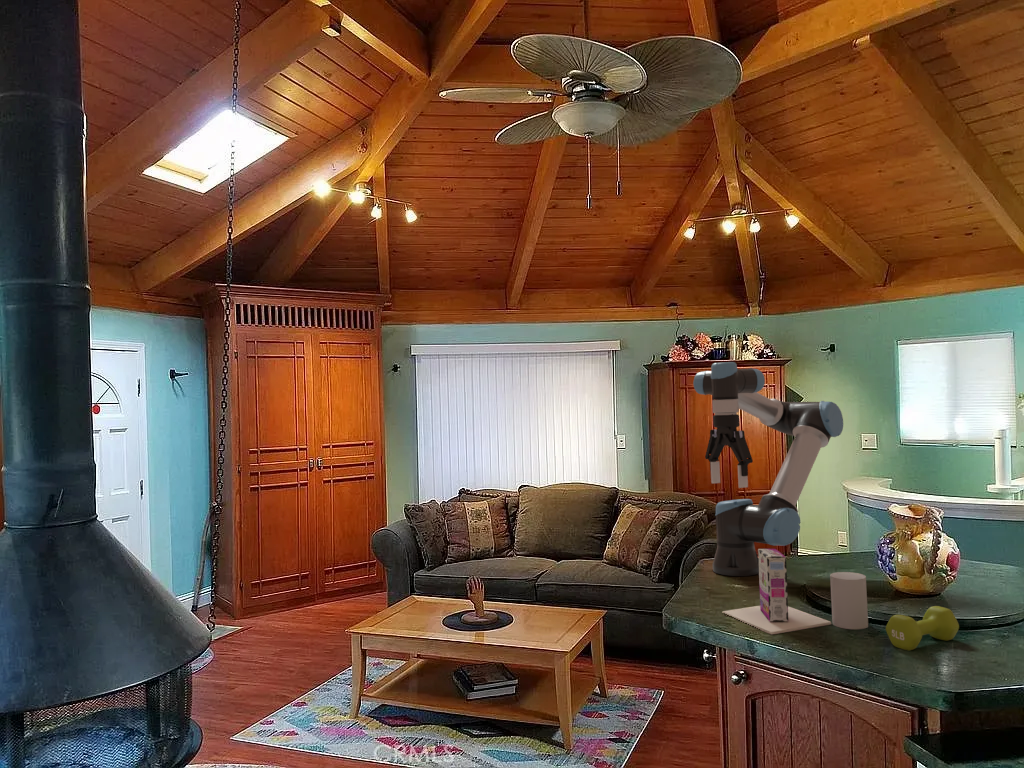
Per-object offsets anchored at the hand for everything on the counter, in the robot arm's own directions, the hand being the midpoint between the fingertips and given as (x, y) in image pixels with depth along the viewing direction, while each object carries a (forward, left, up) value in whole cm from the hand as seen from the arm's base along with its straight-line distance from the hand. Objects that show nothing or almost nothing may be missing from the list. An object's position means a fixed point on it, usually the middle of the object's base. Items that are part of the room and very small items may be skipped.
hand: (729, 485), depth 230 cm
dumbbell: (-8, +60, -31) cm, 68 cm away
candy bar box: (+9, +30, -30) cm, 43 cm away
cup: (-4, +42, -31) cm, 52 cm away
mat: (+9, +30, -31) cm, 44 cm away
